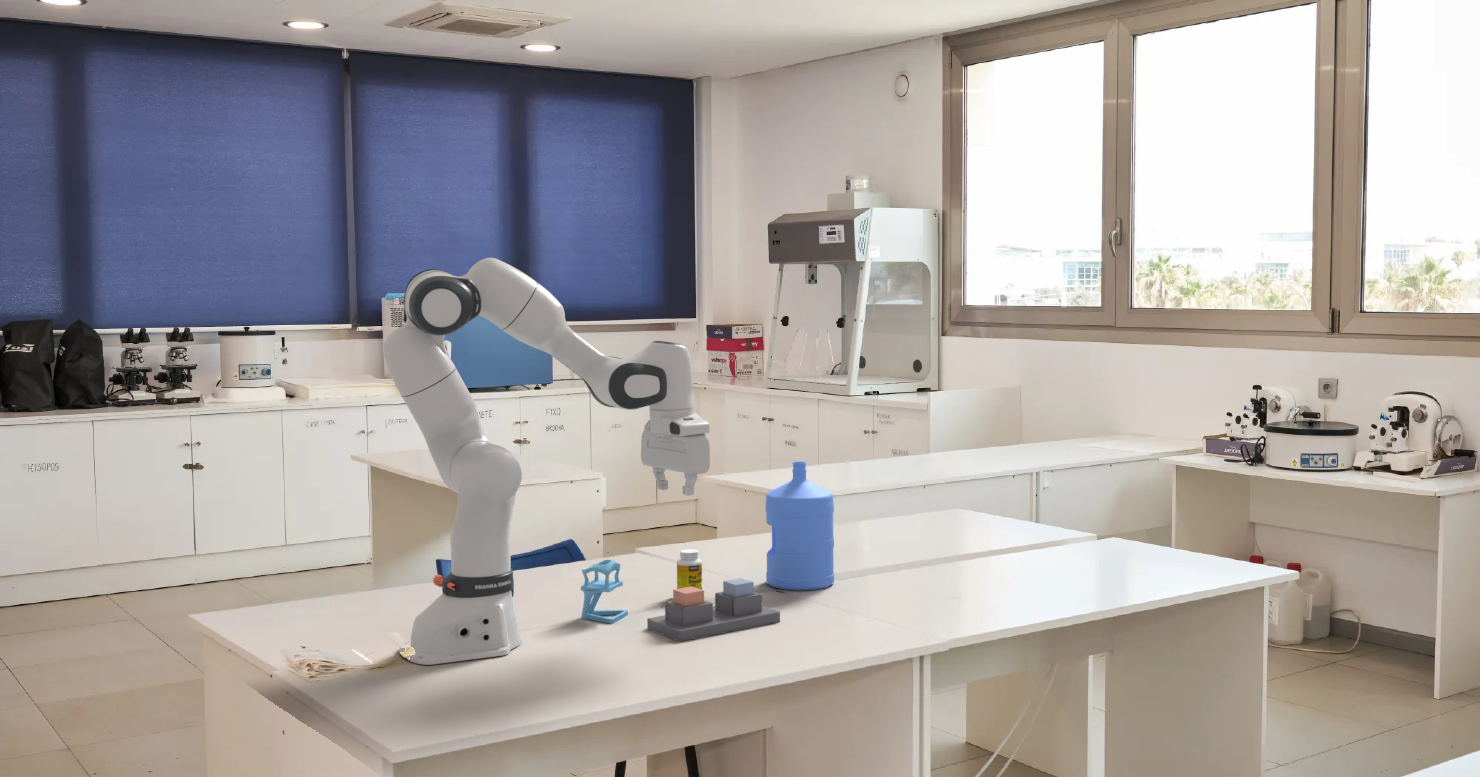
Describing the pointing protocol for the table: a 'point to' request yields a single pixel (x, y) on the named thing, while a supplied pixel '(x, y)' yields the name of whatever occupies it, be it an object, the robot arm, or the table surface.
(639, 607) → the table surface
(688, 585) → the supplement bottle
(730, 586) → the slate key
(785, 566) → the water jug
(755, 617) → the grey piece
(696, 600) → the terracotta key
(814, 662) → the table surface
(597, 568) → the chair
